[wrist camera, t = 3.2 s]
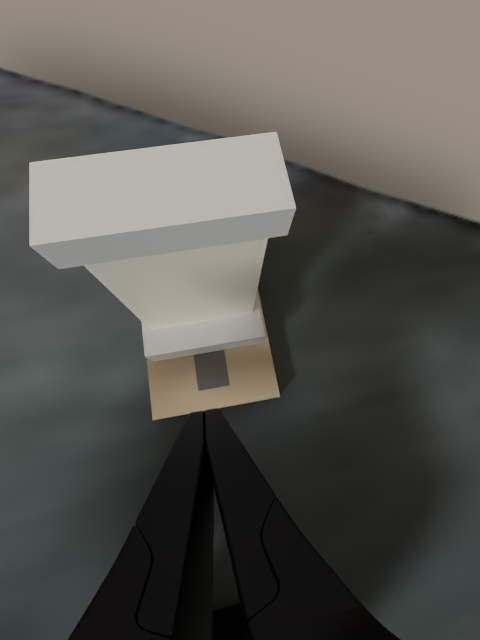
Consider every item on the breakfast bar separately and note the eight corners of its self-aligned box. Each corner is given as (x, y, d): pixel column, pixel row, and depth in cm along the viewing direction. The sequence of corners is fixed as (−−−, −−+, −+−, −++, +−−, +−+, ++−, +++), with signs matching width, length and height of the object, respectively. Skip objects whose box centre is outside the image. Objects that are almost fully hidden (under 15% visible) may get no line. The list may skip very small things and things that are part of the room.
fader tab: (262, 343, 20) (306, 247, 8) (153, 361, 20) (29, 289, 8) (248, 272, 22) (268, 99, 10) (145, 288, 21) (29, 128, 9)
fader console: (279, 397, 21) (283, 396, 20) (155, 420, 21) (149, 420, 19) (235, 181, 26) (235, 166, 24) (132, 194, 25) (125, 181, 24)
